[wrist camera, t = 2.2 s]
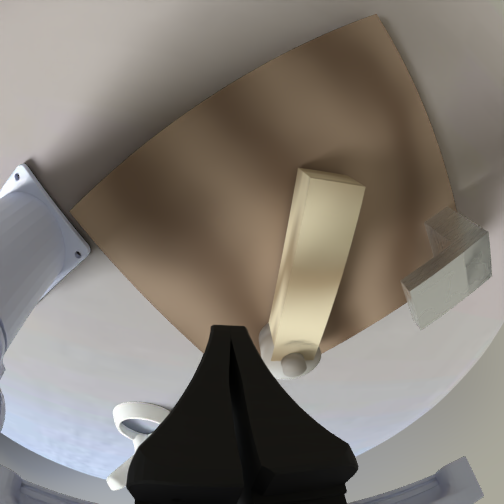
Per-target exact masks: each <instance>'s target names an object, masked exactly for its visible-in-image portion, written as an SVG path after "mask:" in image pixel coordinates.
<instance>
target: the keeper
mask: <svg viewBox="0 0 504 504" xmlns="http://www.w3.org/2000/svg"><path fill="white" fill-rule="evenodd" d="M424 224H425V227H426V231H427V234H428V238H429V242H430V245H431V249H432V253H433V258H432V259H431V260H429V261H428V262H426V263H425V264H424V265H422V266H421V267H419V268H418V269H416V270H415V271H413V272H412V273H411V274H409V275H408V276H406V277H405V278H403V279H402V280H400V282H401V285H402V287H403V290H404V293H405V296H406V299H407V302H408V305H409V309H410V312H411V315H412V318H413V320H414V322H415V323H416V324H417V326H418V327H419V328H420V330H422V329H424V328H425V327H427V326H428V325H430V324H431V323H433V322H434V321H435V320H437V319H438V318H440V317H441V316H442V315H444V314H445V313H446V312H448V311H449V310H450V309H452V308H453V307H454V306H456V305H457V304H458V303H460V302H461V301H462V300H463V299H465V298H466V297H467V296H468V295H470V294H471V293H472V292H473V291H475V290H476V289H477V288H478V287H479V286H481V285H482V284H483V283H484V282H485V281H487V280H488V279H489V278H490V277H491V276H492V270H491V254H490V242H489V233H488V231H486V230H485V229H483V228H482V227H480V226H479V225H477V224H475V223H474V222H472V221H471V220H469V219H468V218H466V217H464V216H463V215H461V214H460V213H458V212H456V211H455V210H453V209H451V208H450V207H448V206H447V207H445V208H444V209H443V210H441V211H440V212H438V213H437V214H436V215H434V216H433V217H431V218H430V219H429V220H427V221H426V222H424Z"/></svg>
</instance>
